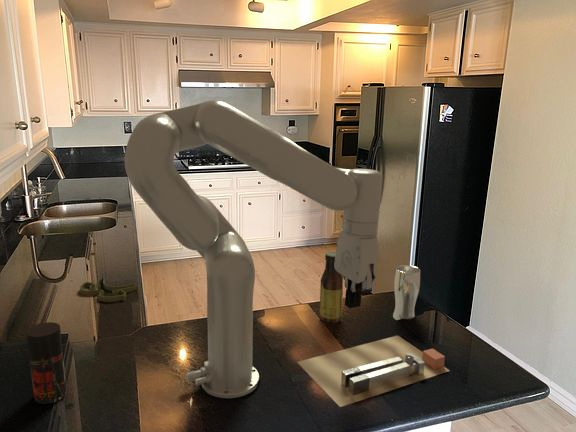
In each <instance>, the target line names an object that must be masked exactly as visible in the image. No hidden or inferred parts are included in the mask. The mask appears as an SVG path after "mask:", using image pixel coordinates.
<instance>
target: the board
mask: <svg viewBox="0 0 576 432" xmlns="http://www.w3.org/2000/svg"><path fill="white" fill-rule="evenodd" d="M410 352H411V353H412V354H414V355H415V356H417V357H418V358H420V359H421V360H422V355H423V350H420V349H418V348H417V347H416V346H414V345H412V344H411V343H410V342H408V341H407V340H405V339H404V338H402V337H401V336H400V335H394V336H390V337H387V338H382V339H379V340H375V341H370V342H368V343H363V344H360V345H359V344H358V345H356V346H353V347H349V348H344V349H341V350H337V351H334V352H330V353H326V354H322V355H319V356H314V357H310V358H308V359H307V358H306V359H303V360H299V361H297V362H296V363H297V364H298V365H299V366H300V367H301V368H302V369H303V370H304V371H305V372H306V373H307V375H308V376H310V377H311V379H312V380H313V381H314V382H315V383H316V384H317V385H318V386H319V387H320V388H321V389H322V390H323V391H324V392H325V393H326V394H327V395H328V396H329V398H330V399H332V401H333V402H335V404H336V405H338V407H339V408H342V407H345V406H348V405H351V404H354V403H357V402H360V401H362V400H365V399H366V400H367V399H368V398H372V397H374V396H379V395H381V394H384V393H387V392H391V391H393V390H396V389H399V388H402V387H406V386H408V385H411V384H412V385H413V384H415V383H419V382H420V381H424V380H426V379H427V380H428V379H430V378H433V377H436V376H438V375H441V374H444V373H447V372H451V370H449V368H447V367H446V366H445V365H444V366H443V367H440V368H437V369H433V368H432V367H430V366H429V365H427V364H426V363H425V366H424V374H423V375H419V376H418V375H417V374H415V373H412V374H409V378H406V379H403V380H400V381H397V382H394V383H390V384H387V385H384V386H381V387H378V388H375V389H372V390H369V391H366V392H363V393H360V394H357V395H354V396H353V395H352V394H351V393H350V392H349V387H344V386H343V385H342V384H341V377H342V371H344V370H348V369H352V368H356V367H360V366H364V365H368V364H372V363H376V362H379V361H383V360H387V359H391V358H395V357H400V358H401V359H402V360H403V362H402V363H404V362H405V356H406V354H407V353H410Z"/></svg>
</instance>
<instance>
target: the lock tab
mask: <svg viewBox="0 0 576 432" xmlns="http://www.w3.org/2000/svg"><path fill="white" fill-rule="evenodd" d="M422 352H423V355H422V361H424V362H425V363H426V364H427V365H429V366H430V367H432V368H433V369H437V368H440V367H443V366H444V367H445V361H446V360H445V359H446V356H445V355H444V354H442V353H440V352H439V351H437V350H436V349H434V348H430V349H425V350H422Z"/></svg>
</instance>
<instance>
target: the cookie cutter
mask: <svg viewBox="0 0 576 432" xmlns="http://www.w3.org/2000/svg"><path fill="white" fill-rule="evenodd" d="M106 283H107V282H106V278H102V277H101V278H99V279H98V280H97V281H96V283H94V282H89V281H85V282H83V283H82V284H81V285H80V287H79V288H80V289H79V290H80V294H81V295H83V296H92V297H93V296H97V299H98V301H99V302H103V303H104V302H105V303H115V302H120V301H124V302H125V301H126V300H127V299H126V298H127V293H131V292H134V291H137V290H139V289H138V283H130V284H126V285H119V286H118V285H116V286H114V285H107V284H106ZM101 284H103V289H104V290H106V291H109V292H112V294H111V295H112V296H105V295H104V290H103V289H98V287H99V286H100V285H101ZM86 288H89V290H87V289H86Z"/></svg>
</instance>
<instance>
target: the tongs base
mask: <svg viewBox="0 0 576 432" xmlns="http://www.w3.org/2000/svg"><path fill="white" fill-rule="evenodd" d="M424 366H425V362H424V361H422V360H421V359H420V358H418V357H417V356H415V355H414V354H412V353H411V352H410V353H407V354H406V356H405V362H404V363H401V364H398V365H394V366H391V367H388V368H384V369H381V370H378V371H374V372H371V373H368V374H362V375H359V376H356V377H352V378H350V380H349V392H350V393H351V394H352V395H353V396H354V395H357V394H360V393H363V392H366V391H369V390H372V389H375V388H378V387H381V386H384V385H387V384H390V383H394V382H397V381H400V380H403V379H406V378H409V374H412V373H415V374H417V375H418V376H419V375H423V374H424Z"/></svg>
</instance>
